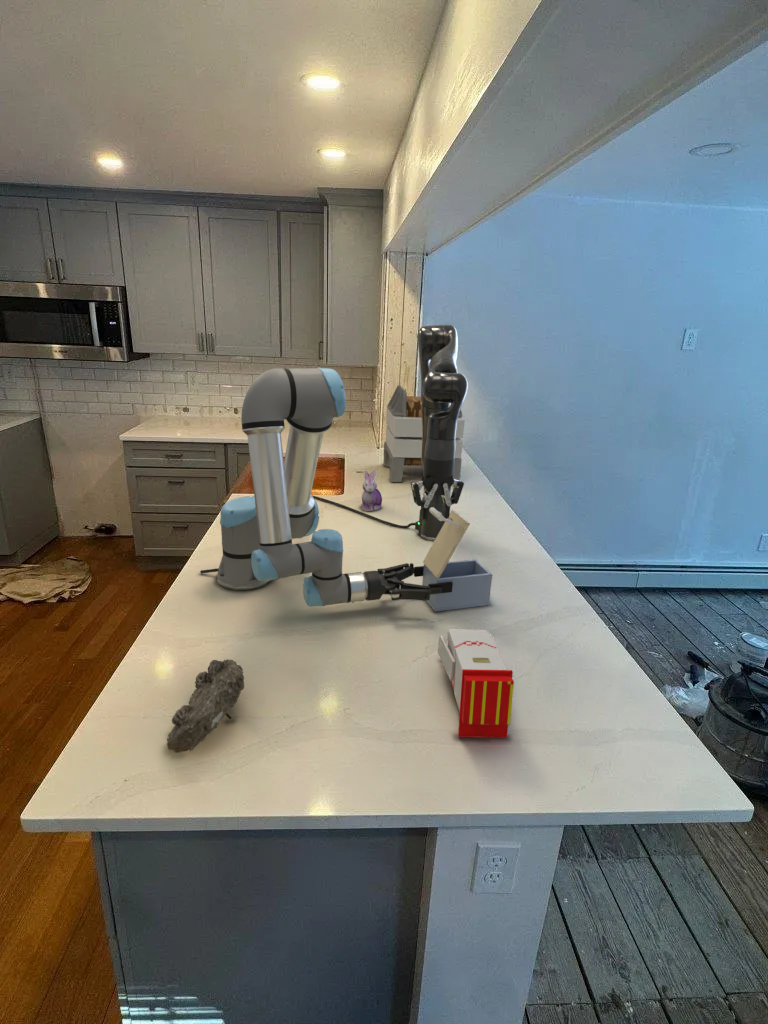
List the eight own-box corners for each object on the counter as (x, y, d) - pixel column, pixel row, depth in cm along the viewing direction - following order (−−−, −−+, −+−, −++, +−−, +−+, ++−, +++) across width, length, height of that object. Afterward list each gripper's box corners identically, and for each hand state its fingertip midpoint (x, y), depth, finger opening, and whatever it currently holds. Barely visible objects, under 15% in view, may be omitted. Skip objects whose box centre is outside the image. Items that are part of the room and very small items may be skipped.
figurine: (366, 513, 218) (367, 475, 213) (355, 505, 226) (356, 468, 221) (387, 510, 222) (389, 473, 217) (376, 502, 231) (377, 466, 226)
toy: (488, 613, 130) (523, 677, 101) (484, 667, 133) (517, 744, 104) (435, 612, 130) (455, 676, 101) (432, 666, 133) (451, 743, 103)
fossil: (192, 660, 117) (244, 628, 112) (224, 691, 120) (276, 661, 115) (142, 746, 98) (202, 712, 93) (182, 779, 101) (242, 748, 96)
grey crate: (382, 463, 289) (386, 382, 275) (445, 464, 293) (451, 384, 279) (390, 482, 257) (394, 392, 243) (460, 483, 261) (468, 394, 247)
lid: (454, 510, 152) (431, 499, 149) (470, 523, 143) (445, 512, 140) (425, 563, 155) (401, 553, 152) (438, 578, 146) (414, 568, 143)
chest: (473, 588, 163) (476, 559, 160) (488, 605, 154) (492, 574, 151) (421, 594, 158) (423, 564, 155) (434, 611, 149) (437, 579, 146)
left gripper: (352, 580, 157) (427, 572, 164) (375, 621, 137) (460, 610, 144) (353, 555, 155) (429, 548, 161) (377, 593, 135) (462, 584, 141)
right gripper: (417, 460, 134) (413, 527, 140) (472, 458, 139) (466, 523, 144) (407, 452, 141) (403, 516, 147) (460, 450, 145) (454, 513, 151)
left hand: (443, 577), depth 153 cm, fingers closed on chest, 10 cm apart
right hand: (434, 519), depth 146 cm, fingers open, 4 cm apart
